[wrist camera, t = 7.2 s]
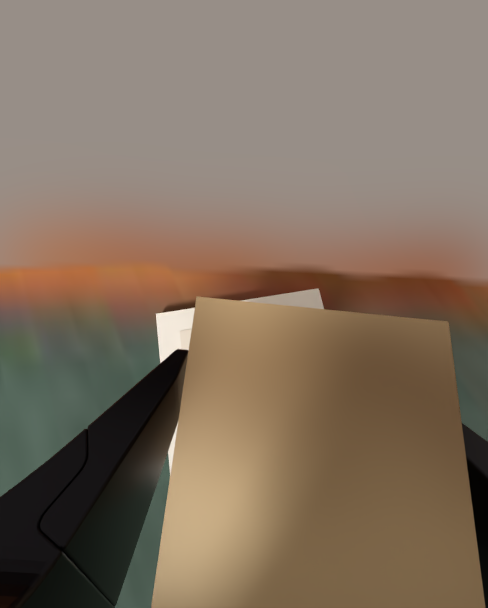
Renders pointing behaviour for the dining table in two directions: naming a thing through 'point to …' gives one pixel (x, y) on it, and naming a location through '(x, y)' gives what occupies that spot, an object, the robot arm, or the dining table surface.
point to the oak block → (317, 465)
